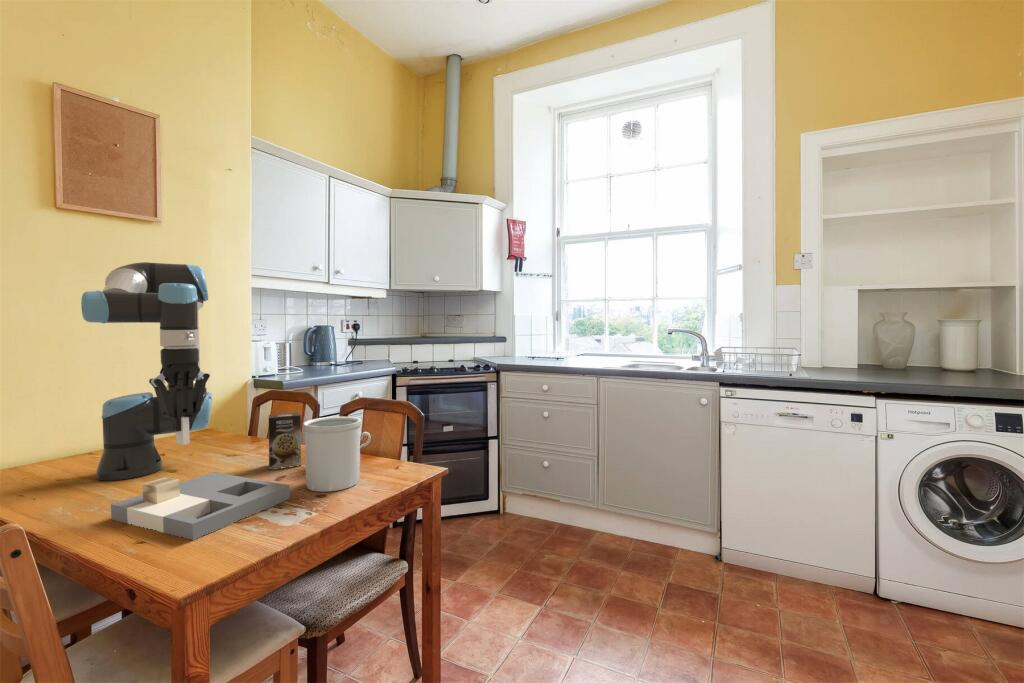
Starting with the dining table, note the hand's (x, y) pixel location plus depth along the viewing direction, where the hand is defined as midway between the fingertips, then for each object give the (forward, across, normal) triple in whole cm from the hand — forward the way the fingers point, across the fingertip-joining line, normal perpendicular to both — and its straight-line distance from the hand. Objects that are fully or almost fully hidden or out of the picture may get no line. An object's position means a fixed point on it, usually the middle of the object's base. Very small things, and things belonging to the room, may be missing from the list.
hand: (182, 443), depth 111 cm
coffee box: (+16, +32, +3) cm, 36 cm away
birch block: (+12, -6, -1) cm, 13 cm away
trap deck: (+15, 0, -7) cm, 17 cm away
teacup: (+16, +40, -14) cm, 45 cm away
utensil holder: (+15, +25, -23) cm, 38 cm away
